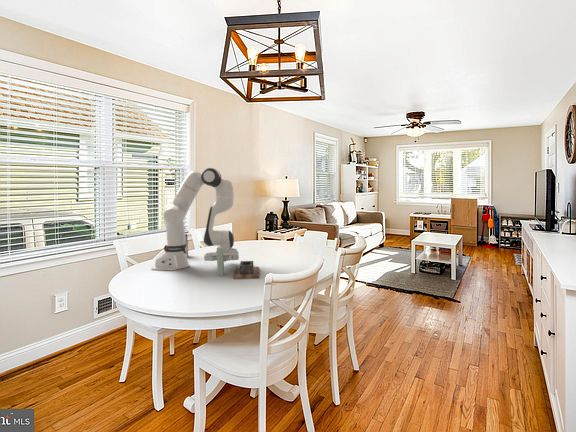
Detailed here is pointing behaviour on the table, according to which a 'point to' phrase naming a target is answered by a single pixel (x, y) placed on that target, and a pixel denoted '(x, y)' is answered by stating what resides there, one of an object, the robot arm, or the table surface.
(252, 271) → the wooden base with socket
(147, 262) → the table surface
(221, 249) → the pale green block
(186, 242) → the coffee box
